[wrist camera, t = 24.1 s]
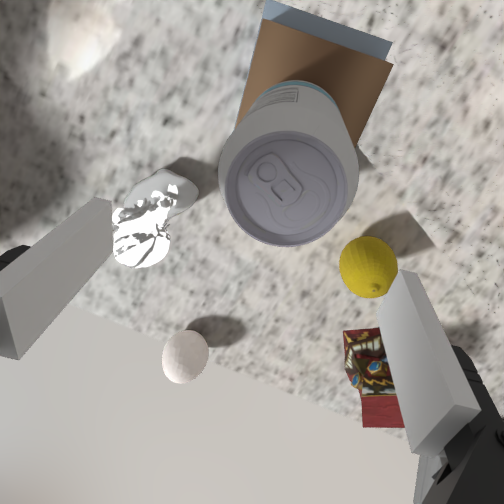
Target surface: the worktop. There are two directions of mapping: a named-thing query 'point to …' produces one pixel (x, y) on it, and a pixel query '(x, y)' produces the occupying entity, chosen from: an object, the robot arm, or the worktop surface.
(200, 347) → the egg
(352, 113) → the walnut brick
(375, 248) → the lemon
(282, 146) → the beverage can
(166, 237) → the figurine
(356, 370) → the tiki totem
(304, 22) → the base brick
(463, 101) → the worktop surface
